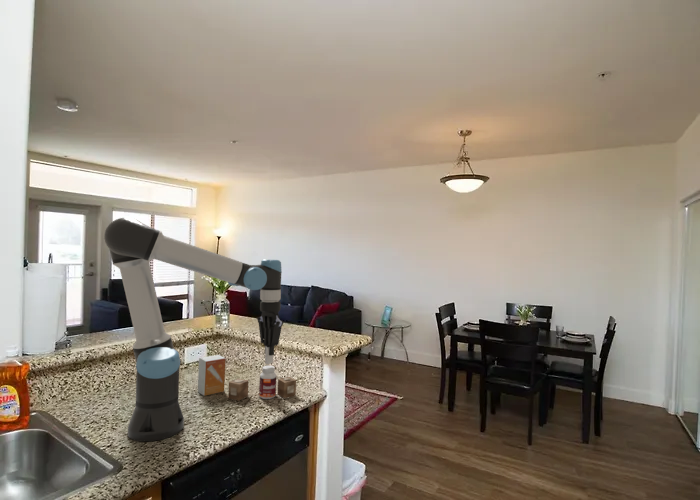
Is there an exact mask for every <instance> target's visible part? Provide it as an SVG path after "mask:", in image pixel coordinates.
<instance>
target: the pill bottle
mask: <svg viewBox="0 0 700 500" xmlns="http://www.w3.org/2000/svg"><path fill="white" fill-rule="evenodd" d="M275 370H276V367H275V366H274V365H264V366H262V368H261V371H262V372H261V373H260V375H259V386H258V397H259V398H260V399H262V400H270V399H274V398H275V397H276V393H277V373H276V371H275Z"/></svg>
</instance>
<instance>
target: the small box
mask: <svg viewBox="0 0 700 500" xmlns="http://www.w3.org/2000/svg"><path fill="white" fill-rule="evenodd" d="M225 380H226V357H224V356H222V355H221V354H216V355H209V356H203V357H199V358H198V374H197V392H198V393H199V394H200V395H202V396H204V397H205V396H209V395H213V394H219V393H224V392H225V384H226V383H225Z"/></svg>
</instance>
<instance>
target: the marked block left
mask: <svg viewBox="0 0 700 500" xmlns="http://www.w3.org/2000/svg"><path fill="white" fill-rule="evenodd" d="M227 397H228V399H231V400H234V401H237V402H238V401H239V402H240V401H241V400H244V399H245V398H248V397H249V380H247V379H244V378H240V377H239V378H238V377H237V378H235V379H233V380H230V381H229V382H228V396H227Z"/></svg>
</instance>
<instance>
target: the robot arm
mask: <svg viewBox="0 0 700 500" xmlns="http://www.w3.org/2000/svg"><path fill="white" fill-rule="evenodd" d="M103 237H104V238H103V239H104V242H105V244H106V247H107V248H108V249H109V250H108V251H109V254H110V257H111V261H112V262H111V263H112V265H113V266H115V267H116V268H118V269H119V271H120V275H121V276H120V277H121V280H122V284H123V288H124V292H125V298H126V301H127V305H128V311H129V313H130V314H129V316H130V318H131V323H132V327H133V332H134V336H135V342H134V344H133V345H132V350H133V351H132V352H133V355H134V358H135V369H136V374H135V375H136V378H135V381H136V382H135V405H134V406H135V407H134V409H133V412H132V415H131V417H130V420H129V423H128V425H127V426H128V427H127V436H128V438H129V439H131V440H133V441H137V442H155V441H160V440H164V439H168V438H170V437H173V436H174V435H175V436H176V435H177V434H179V433H180V432H181V431H182V430H183V429H184V426H185V425H184V424H185V419H184V413H183V412H182V407H181V406H180V403H179V396H180V395H179V392H180V365H181V358H180V353H179V351H178V350H176V349H175V348H174V343H173V339H172V336H171V335H170V334H168V333H167V332H165V327H164V323H163V319H162V314H161V309H160V305H159V301H158V296H157V291H156V288H155V287H156V286H155V283H154V278H153V274H152V270H151V269H152V268H151V265H150V262H151V261H152V260H156V261H158V262H162V263H165V264H170V265H172V266H176V267H179V268H182V269H186V270H189V271H192V272H194V273H199V274H201V275H205V276H208V277H211V278H214V279H217V280H220V281H224V282H227V284H228V285H229V286H230V287H231V286H236V287H238V286H239V287H242V288H245V289H247V290H251V291H259V290H260V293H259V295H260V297H259V299H260V300H261V301H260V302H259V303H260V304H259V310H260V312H261V316H259V317H257V319H256V321H257V323H258V329H259V336H260V343H261V344H263V345H264V364H265V365H271V364H273V363H274V355H275V347H276V346H279V344H280V343H279V342H280V337H281V332H282V327H283V325H284V320H280V315H279V314H280V313H279V312H281V304H282V303H281V301H280V300H281V299H282V298H281V296H282V295H281V294H282V291H281V290H282V273H283V272H282V262H281V260H279V259H262V260H261V262H260V264H248V263H245V262H242V261H239V260H236V259H233V258H230V257H228V256H225V255H221V254H218V253H216V252H213V251H210V250H207V249H204V248H201V247H199V246H195V245H192V244H190V243H187V242H184V241H181V240H178V239H174V238H172V237H169V236H166V235H164V234H163V231H162V230H159V229H156V228H153V227H151V226H149V225H147V224H145V223H143V222H141V221H140V220H137V219H135V218H132V217H119V218H117V219H115V220H113V221H112V222H110V223H109V224H108V225H107V227H106V228H105V230H104V235H103Z"/></svg>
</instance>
